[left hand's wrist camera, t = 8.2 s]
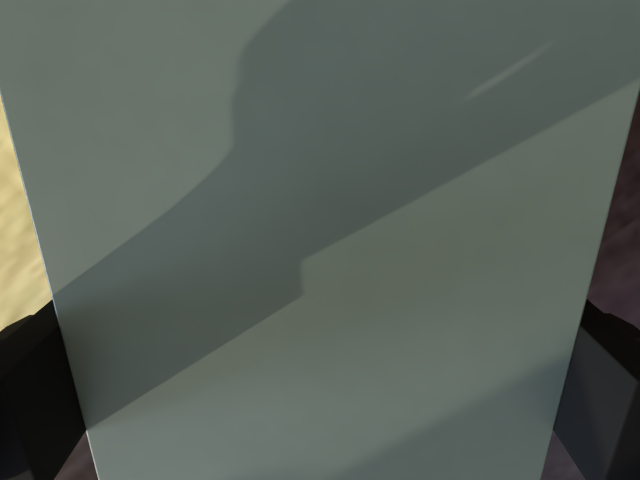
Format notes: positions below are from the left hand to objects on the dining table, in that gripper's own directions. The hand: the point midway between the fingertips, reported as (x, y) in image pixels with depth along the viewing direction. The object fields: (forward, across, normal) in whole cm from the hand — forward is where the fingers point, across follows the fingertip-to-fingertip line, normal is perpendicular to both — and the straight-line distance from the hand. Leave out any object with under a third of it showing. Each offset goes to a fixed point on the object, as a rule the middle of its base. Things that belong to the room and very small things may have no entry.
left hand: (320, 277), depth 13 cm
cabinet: (+4, 0, -5) cm, 6 cm away
